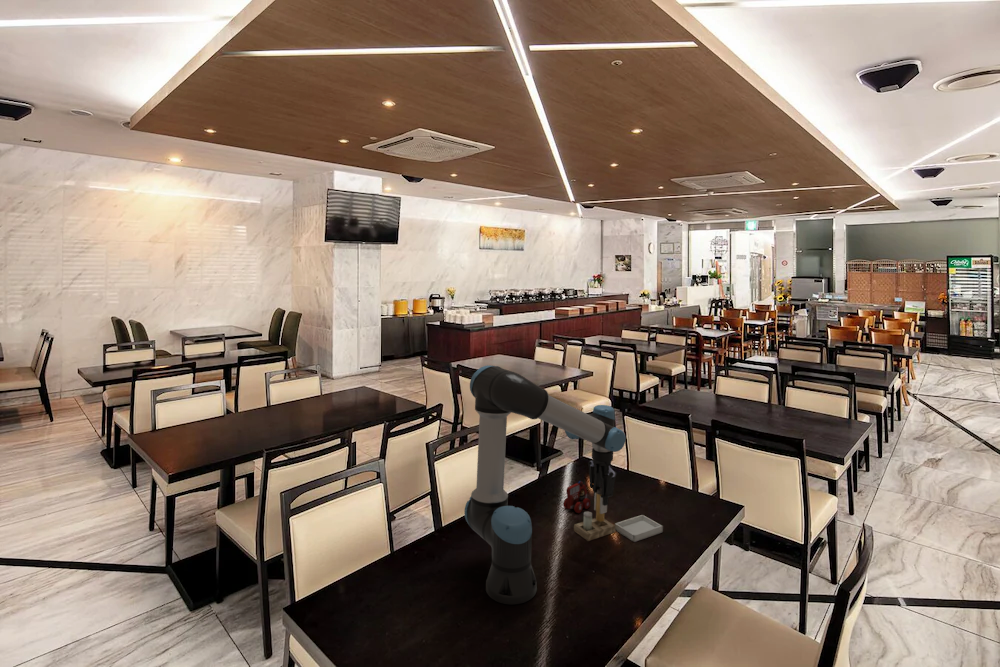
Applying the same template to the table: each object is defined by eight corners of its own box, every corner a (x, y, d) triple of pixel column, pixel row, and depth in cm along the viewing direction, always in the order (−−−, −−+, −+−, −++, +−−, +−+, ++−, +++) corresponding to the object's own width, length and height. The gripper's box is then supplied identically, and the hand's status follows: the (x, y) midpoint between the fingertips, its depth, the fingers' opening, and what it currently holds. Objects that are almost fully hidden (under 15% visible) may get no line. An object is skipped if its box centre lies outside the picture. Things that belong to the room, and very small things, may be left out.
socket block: (588, 541, 181) (588, 534, 181) (573, 531, 188) (574, 524, 188) (615, 532, 188) (615, 525, 187) (600, 522, 194) (600, 516, 194)
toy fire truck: (593, 506, 208) (593, 481, 207) (574, 516, 200) (575, 490, 198) (579, 500, 213) (579, 476, 212) (560, 510, 205) (561, 485, 203)
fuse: (586, 536, 184) (587, 516, 183) (581, 533, 187) (582, 512, 186) (593, 534, 186) (594, 514, 185) (588, 531, 188) (588, 510, 187)
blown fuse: (599, 522, 187) (600, 492, 185) (594, 518, 189) (595, 489, 188) (606, 520, 188) (607, 491, 187) (600, 516, 191) (601, 488, 189)
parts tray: (634, 542, 181) (634, 535, 180) (614, 529, 189) (614, 523, 189) (662, 532, 188) (662, 525, 187) (642, 520, 196) (642, 514, 196)
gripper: (625, 453, 181) (623, 517, 183) (596, 440, 194) (594, 500, 197) (609, 457, 177) (606, 522, 180) (580, 443, 190) (578, 504, 193)
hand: (600, 510), depth 188 cm, fingers closed on blown fuse, 2 cm apart
